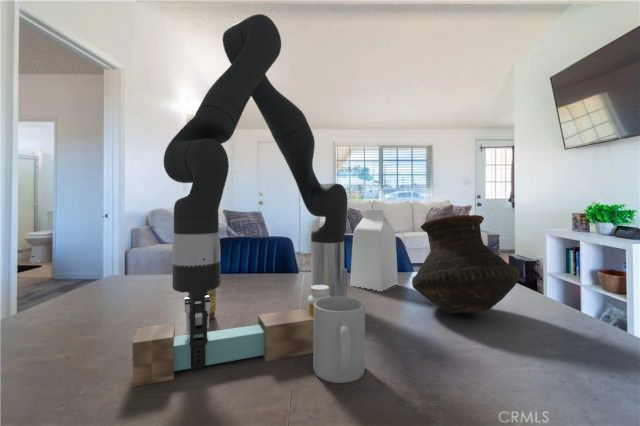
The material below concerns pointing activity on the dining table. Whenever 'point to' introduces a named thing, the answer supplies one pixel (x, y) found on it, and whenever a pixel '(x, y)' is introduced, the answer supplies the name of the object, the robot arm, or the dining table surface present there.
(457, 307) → the ceramic pot
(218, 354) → the long turquoise beam
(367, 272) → the milk
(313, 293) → the supplement bottle
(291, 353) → the wooden block
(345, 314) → the mug
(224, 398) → the dining table surface
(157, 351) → the socket
